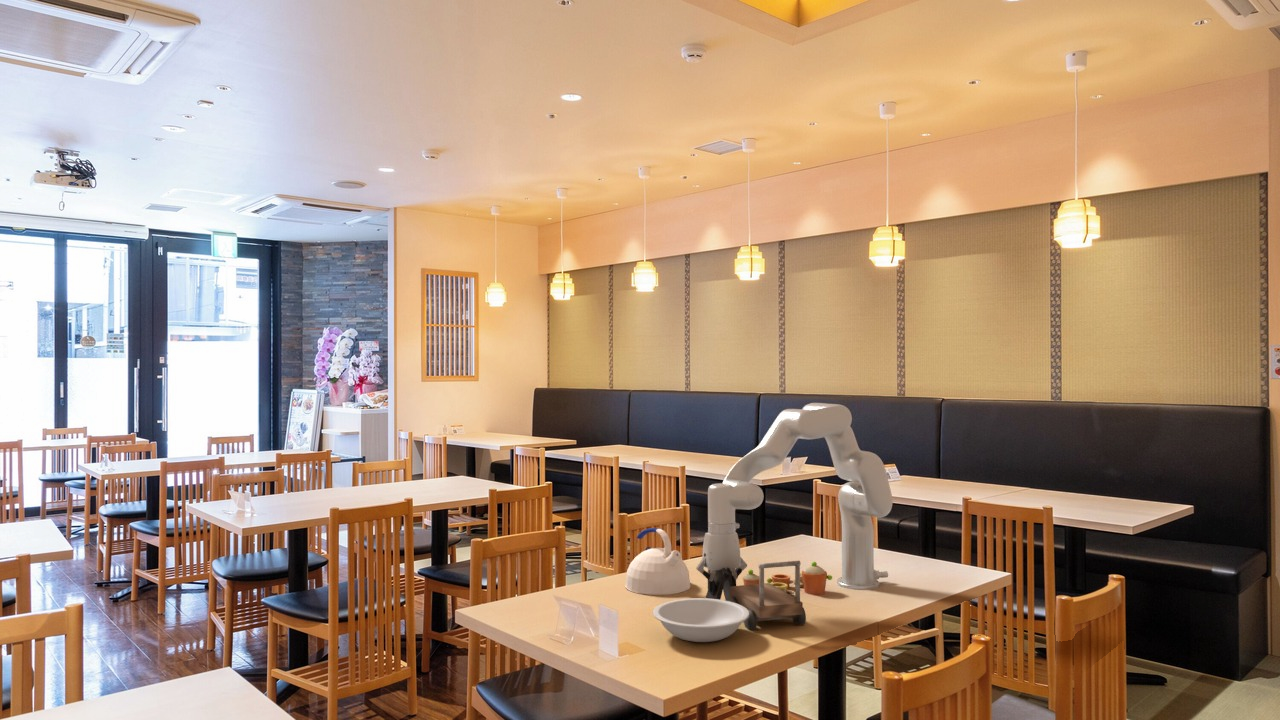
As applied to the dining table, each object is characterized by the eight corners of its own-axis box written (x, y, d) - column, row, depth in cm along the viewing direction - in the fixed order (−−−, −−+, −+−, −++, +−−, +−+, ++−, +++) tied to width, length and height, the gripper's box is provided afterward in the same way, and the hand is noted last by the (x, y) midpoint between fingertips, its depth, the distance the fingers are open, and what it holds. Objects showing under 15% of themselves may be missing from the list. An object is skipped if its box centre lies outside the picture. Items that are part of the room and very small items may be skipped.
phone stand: (711, 613, 228) (711, 569, 228) (702, 606, 234) (702, 564, 234) (741, 609, 231) (741, 566, 231) (731, 603, 237) (731, 561, 237)
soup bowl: (657, 621, 221) (657, 596, 221) (748, 624, 218) (748, 599, 218) (648, 652, 197) (648, 625, 197) (750, 656, 195) (750, 627, 195)
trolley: (775, 607, 233) (774, 544, 233) (808, 629, 214) (808, 560, 214) (724, 612, 229) (723, 548, 229) (753, 634, 210) (753, 565, 210)
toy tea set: (812, 582, 260) (812, 552, 260) (838, 595, 246) (838, 563, 246) (735, 589, 253) (735, 558, 253) (757, 603, 238) (757, 570, 238)
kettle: (652, 600, 242) (651, 537, 242) (612, 585, 259) (611, 526, 259) (705, 588, 254) (704, 529, 254) (663, 575, 270) (663, 519, 271)
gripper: (744, 524, 238) (745, 587, 238) (688, 527, 234) (688, 592, 234) (755, 529, 231) (755, 594, 231) (697, 532, 226) (697, 599, 226)
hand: (722, 592), depth 232 cm, fingers open, 5 cm apart
